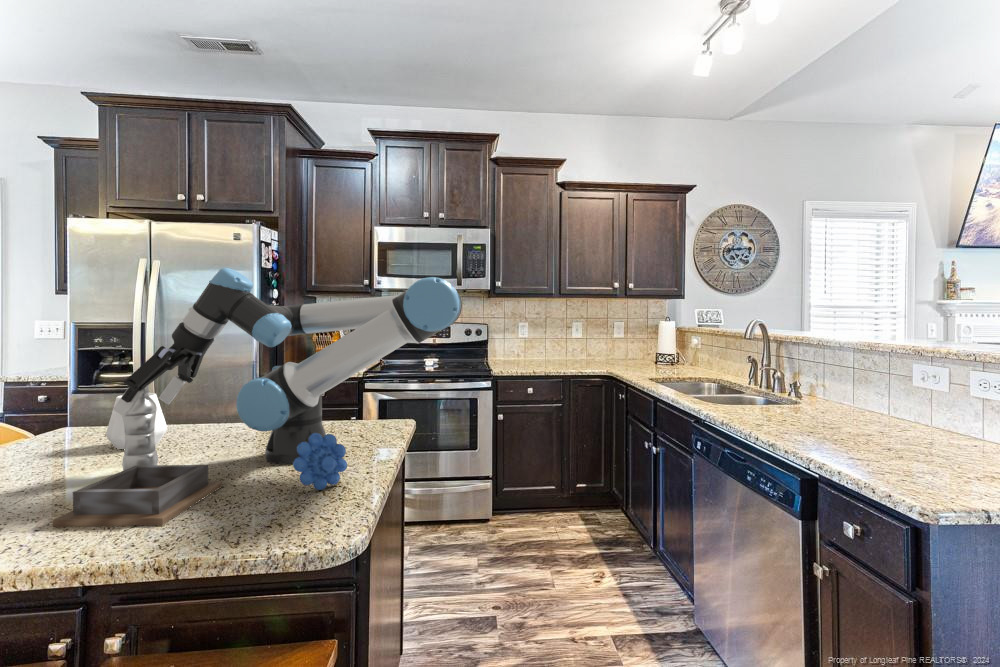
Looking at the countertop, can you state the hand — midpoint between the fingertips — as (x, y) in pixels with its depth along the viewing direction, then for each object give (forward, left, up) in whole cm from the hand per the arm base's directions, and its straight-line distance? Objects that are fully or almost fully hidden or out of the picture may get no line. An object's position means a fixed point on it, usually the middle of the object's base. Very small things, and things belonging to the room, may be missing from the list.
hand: (143, 406), depth 104 cm
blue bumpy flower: (-44, +12, -16) cm, 48 cm away
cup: (+19, -24, -16) cm, 35 cm away
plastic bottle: (+1, 0, -16) cm, 16 cm away
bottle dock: (-13, +18, -15) cm, 27 cm away
